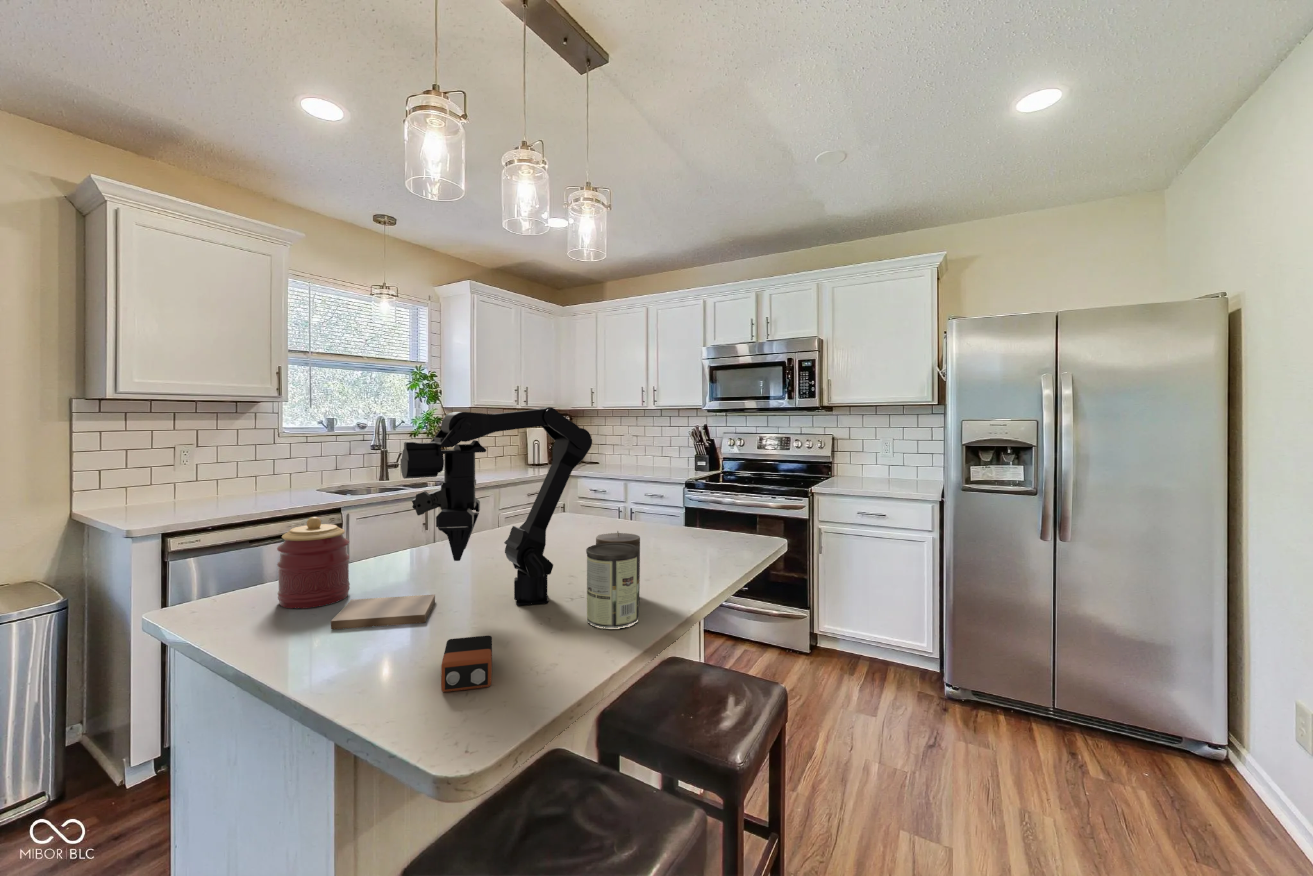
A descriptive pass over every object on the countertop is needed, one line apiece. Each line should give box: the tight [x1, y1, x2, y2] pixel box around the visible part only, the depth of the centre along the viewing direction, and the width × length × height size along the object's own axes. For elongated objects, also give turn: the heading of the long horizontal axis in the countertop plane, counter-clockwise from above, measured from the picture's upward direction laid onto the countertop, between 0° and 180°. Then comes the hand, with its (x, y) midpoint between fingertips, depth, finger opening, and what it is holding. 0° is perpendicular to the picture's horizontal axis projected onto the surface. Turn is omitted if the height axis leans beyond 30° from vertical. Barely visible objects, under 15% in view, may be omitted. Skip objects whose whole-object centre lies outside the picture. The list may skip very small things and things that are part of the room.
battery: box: [440, 634, 493, 693], centre depth 81 cm, size 4×7×10 cm
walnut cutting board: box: [330, 594, 436, 630], centre depth 107 cm, size 16×12×2 cm
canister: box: [276, 516, 351, 610], centre depth 115 cm, size 13×13×18 cm
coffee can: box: [585, 543, 641, 628], centre depth 105 cm, size 10×10×14 cm
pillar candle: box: [595, 530, 641, 590], centre depth 117 cm, size 10×10×15 cm
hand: (459, 554), depth 107 cm, fingers open, 9 cm apart
